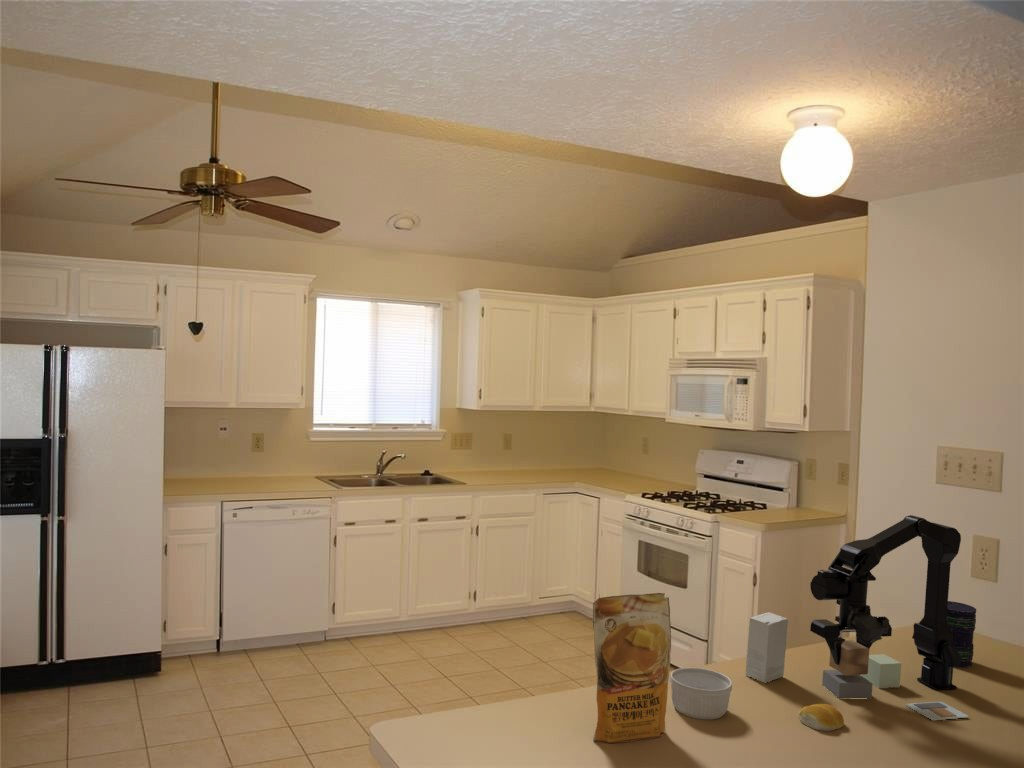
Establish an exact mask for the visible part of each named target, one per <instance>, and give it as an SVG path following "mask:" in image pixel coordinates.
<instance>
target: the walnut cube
mask: <svg viewBox="0 0 1024 768" xmlns="http://www.w3.org/2000/svg"><path fill="white" fill-rule="evenodd" d="M869 655H870V649H869V648H867V647H865V646H863V645H861V644H859V643H857V642H856V641H855V640H853V639H852V640H851V639H849V640H848V639H847V640H846V639H845V641H844V642H843V643H842V645H841V656H840V663H839V665H837V664H835V662H834V659H833V657H832V654H831V651H830V650H829V667H831V668H832V669H833V670H837V671H839V672H841V673H842V674H844V675H861V676H862V675H864V674H868V663H869Z"/></svg>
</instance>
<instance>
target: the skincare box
mask: <svg viewBox="0 0 1024 768" xmlns="http://www.w3.org/2000/svg"><path fill="white" fill-rule="evenodd" d="M788 623H789V619H788V618H786V617H784V616H781V615H778V614H775V613H773V612H769V611H768V612H765V613H760V614H758V615H755V616H751V617H749V625H748V626H749V627H748V635H747V636H748V637H747V649H746V662H745V664H746V665H745V676H747V677H748V678H750V677H752V678H751V679H753V678H754V679H753V680H755V679H757V680H756V681H758V680H759V681H758V682H760V681H762V682H764V683H763V684H768V683H770V682H772V680H773V681H775V680H777V679H781V678H782V677H784V675H785V674H784V673H785V661H786V660H785V659H786V651H787V650H786V647H787V638H788V637H787V636H788ZM762 682H761V683H762ZM767 682H768V683H767Z"/></svg>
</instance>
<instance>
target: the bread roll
mask: <svg viewBox="0 0 1024 768" xmlns="http://www.w3.org/2000/svg"><path fill="white" fill-rule="evenodd" d="M798 719H799V721H800V723H802V724H803V725H805V726H807V727H809V728H811V729H813V730H816V731H823V732H831V731H834V730H838V729H842V727H843V726H844V725H845V724H844V723H845V720H844V717H843V714H842V712H840V710H839V709H837V708H836V707H834V706H833V705H831V704H827V703H816V704H811V705H806V706H803V707H802V708H801V709H800V710H799V713H798Z"/></svg>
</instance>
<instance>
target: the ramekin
mask: <svg viewBox="0 0 1024 768" xmlns="http://www.w3.org/2000/svg"><path fill="white" fill-rule="evenodd" d="M669 680H670V683H671V700H672V704H673V706H674V707H675V709H676V710H677V711H678V712H679V713H680V714H682V715H684V716H687V717H689V718H693V719H698V720H716V719H720V718H721V717H723V715H725V714H726V712H727V711H728V708H729V707H728V706H729V704H730V703H729V702H730V698H731V697H730V696H731V692H732V690H733V682H732V680H731V679H730V678H729V677H728V676H727V675H726V674H723V673H721V672H719V671H715V670H712V669H708V668H701V667H680V668H676V669H674V670H672V671H671V672H670V674H669Z"/></svg>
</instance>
